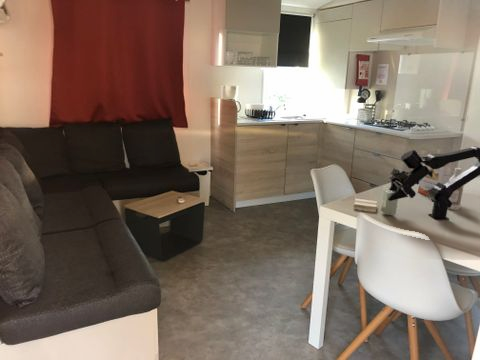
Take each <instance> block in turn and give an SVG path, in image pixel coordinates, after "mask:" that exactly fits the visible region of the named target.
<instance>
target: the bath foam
mask: <svg viewBox="0 0 480 360" xmlns="http://www.w3.org/2000/svg"><path fill="white" fill-rule="evenodd" d="M462 171H463V168H460V167H455V168H454V174H453V175H452V177H450V178H449V181H451V180H452V179H454V178H455V177H457V176H459V175H460V174H462V173H463V172H462ZM464 186H465V185H463V186H462V187H460V188H459V189H457V190H456V191H454V192H453V194H452V195H451V197H450V198H449V200H450V201H451V202H452V205H451V207H450V208H448V209H447V210H454V211H457V210H459V209H460V207H461V202H462V195H463V191H464Z"/></svg>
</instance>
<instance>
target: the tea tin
mask: <svg viewBox="0 0 480 360" xmlns="http://www.w3.org/2000/svg"><path fill="white" fill-rule="evenodd" d="M395 192H396V191H395V190H389V189H383V194H382V201H381V209H380V211H381V212H382V213H383V214H384V215H394V216H395V215H396V214H397V208H398V207H397V206H398V201H399V199H396V200H392V201H389V200H388V199H389V198H390V197H391V196H392V195H393V194H394V193H395Z"/></svg>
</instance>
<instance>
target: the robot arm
mask: <svg viewBox="0 0 480 360" xmlns="http://www.w3.org/2000/svg"><path fill="white" fill-rule="evenodd" d="M424 156H425V157H424ZM424 156H420V155H419V154H418V153H417V151H416V150H415V149H412V150H410V151H407V152H405V153H403V154H402V155H401V156H400V160H401V161H402V162H403V163H404V165H405V166H406V167H407V168H408V169H412V170H410V171H405V170H403V169H401V170H400V169H398V168H395V167H393V169H392V171H391V172H390V175H392V176H391V177H390V178H389V179H390V187H389V188H388V190H395V191H396V192H395V193H394V194H393V195H392V196H391V197H390V198H389V199H388V200H389V201H392V200H396V199H398V200H399V199H406V198H408V197H409V198H411V199H414V197H416V194H417V193H416V191H415V190H414V189H413V188H412V187H414V186H415V185H418V186H419V182H420V180H421V179H423V178H424V177H425V176H426V175H428V176H430V177H433V171H432V170H429V169H428V168H427V167H426V166H428V167H430V168H432V169H439V168H441V167H444V166H445V165H447V164H448V163H451V162H452V163H454V162H459V161H463V160H464V161H465V160H467V159H472V158H475V159H477V160H476V162H475V164H474V165H473V166H471V167H469V168H468V169H467V170H465V171H463V172H461V174H460V175H459V176H457V177H455V178H454V179H452V180H451V181H449V182H448V183H446V184H442V183H440V182H439V183H437V184H436V185H435V186H432V188H431V189H430V190H429V196H428V197H429V198H430V200H431V202H432V210H431V213H428V216H429V217H431V218H432V219H434V220H445V221H447V220H450V218H449V217H448V216H447V213H448V210H449V209H448V208H450V207H451V205H452V202H451V201H450V200H449V198H450V197H451V195H452V194H453V192H454V191H456V190H457V189H459V188H460V187H462V186H463V185H464V186H465V185H466V184H468V183H470V182H471V181H473V180H474V179H476V178H478V177H479V176H480V147H479V146H478V147H477V146H476V145H475V146H470V147H468V148H467V147H466V148H463V149H460V150H455V151H450V152H445V153H429V154H427V155H424ZM422 163H423V164H425V165H426V166H423V165H422Z"/></svg>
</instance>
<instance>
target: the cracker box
mask: <svg viewBox="0 0 480 360" xmlns="http://www.w3.org/2000/svg"><path fill="white" fill-rule="evenodd" d="M425 156H426V155H424V156H423V157H425ZM421 164H422V165H423V166H426V165H425V164H423V163H421ZM452 165H453V162H451V163H448V164H447V165H445V166H444V167H441V168H439V169H432V168H430V167H428V166H426V167H427V168H428V169H429V170H432V171H433V177H430V176H428V175H426V176H425V177H424V178H423V179H421V180H420V181H419V184H418V189H417V193H419V194H422V195H424V196H428V197H429V190H430V189H431V188H432V186H435V185H436V184H437V183H439V182H440V183H442V184H446V183H448V182H449V180H450V179H451V171H452Z"/></svg>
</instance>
